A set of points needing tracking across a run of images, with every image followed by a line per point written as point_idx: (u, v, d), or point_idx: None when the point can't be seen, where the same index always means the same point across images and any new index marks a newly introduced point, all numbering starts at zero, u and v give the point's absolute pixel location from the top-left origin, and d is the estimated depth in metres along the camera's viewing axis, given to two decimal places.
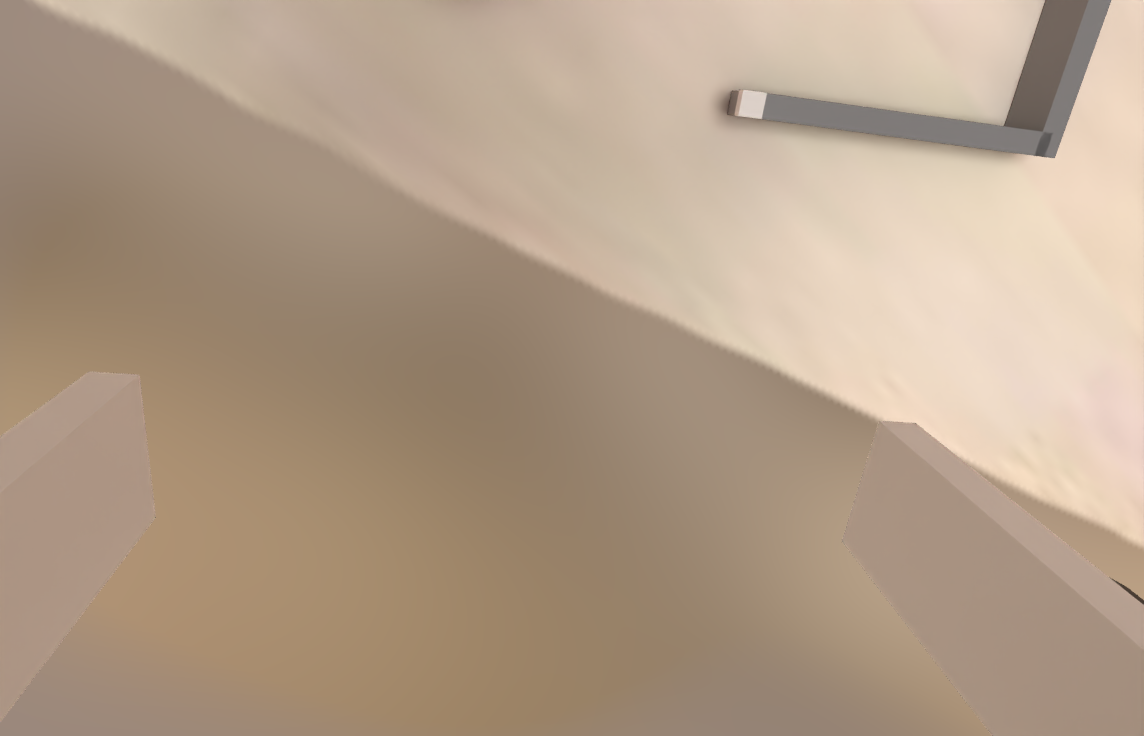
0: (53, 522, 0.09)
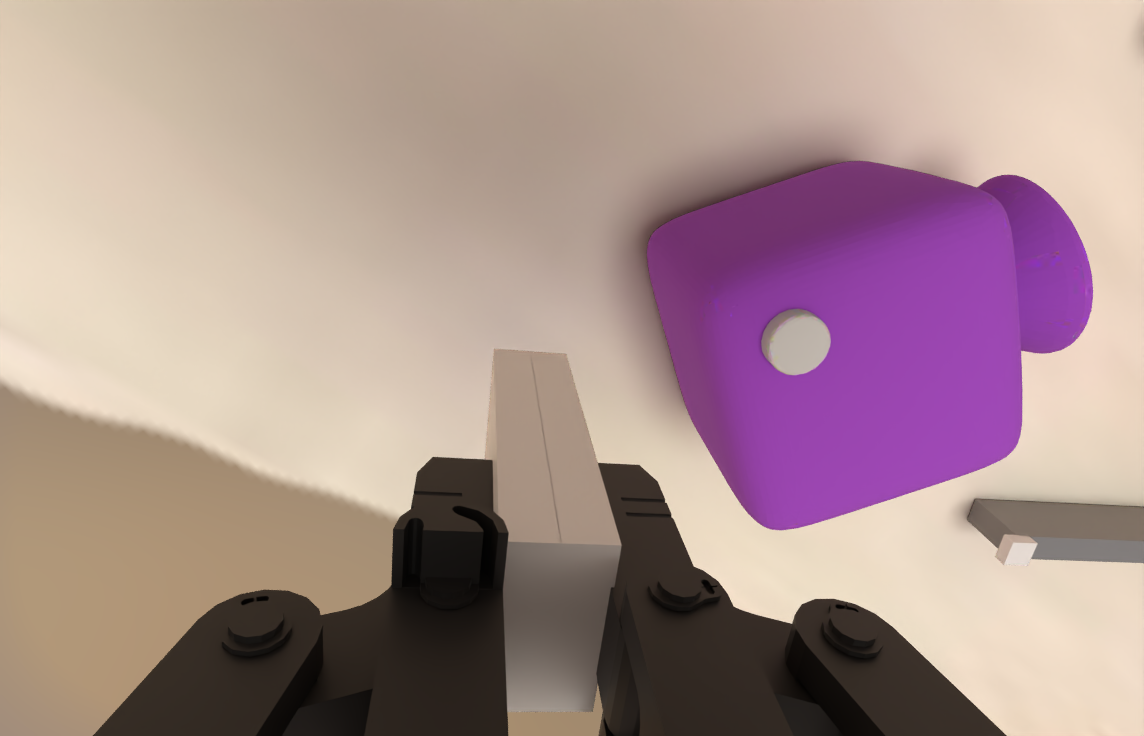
0: None
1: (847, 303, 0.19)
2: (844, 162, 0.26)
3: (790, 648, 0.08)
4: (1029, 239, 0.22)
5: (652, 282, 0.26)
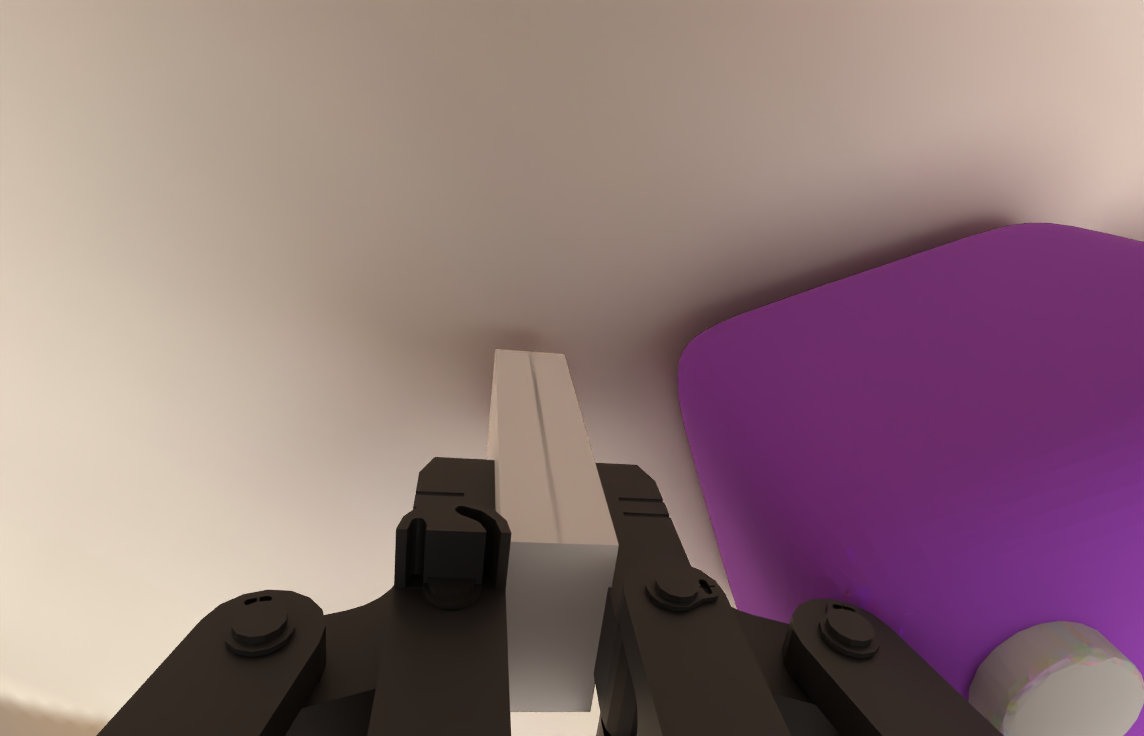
0: None
1: None
2: (1023, 225, 0.15)
3: (786, 649, 0.08)
4: None
5: (688, 433, 0.15)
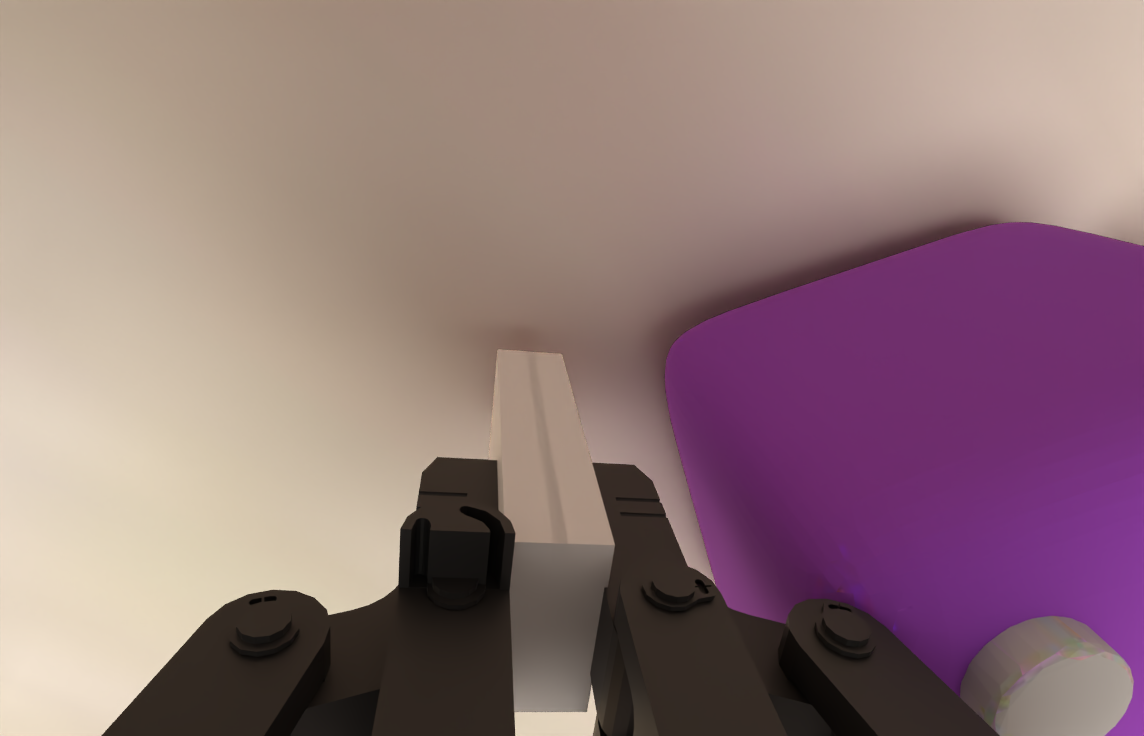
0: None
1: None
2: (1007, 225, 0.15)
3: (783, 648, 0.08)
4: None
5: (675, 430, 0.15)
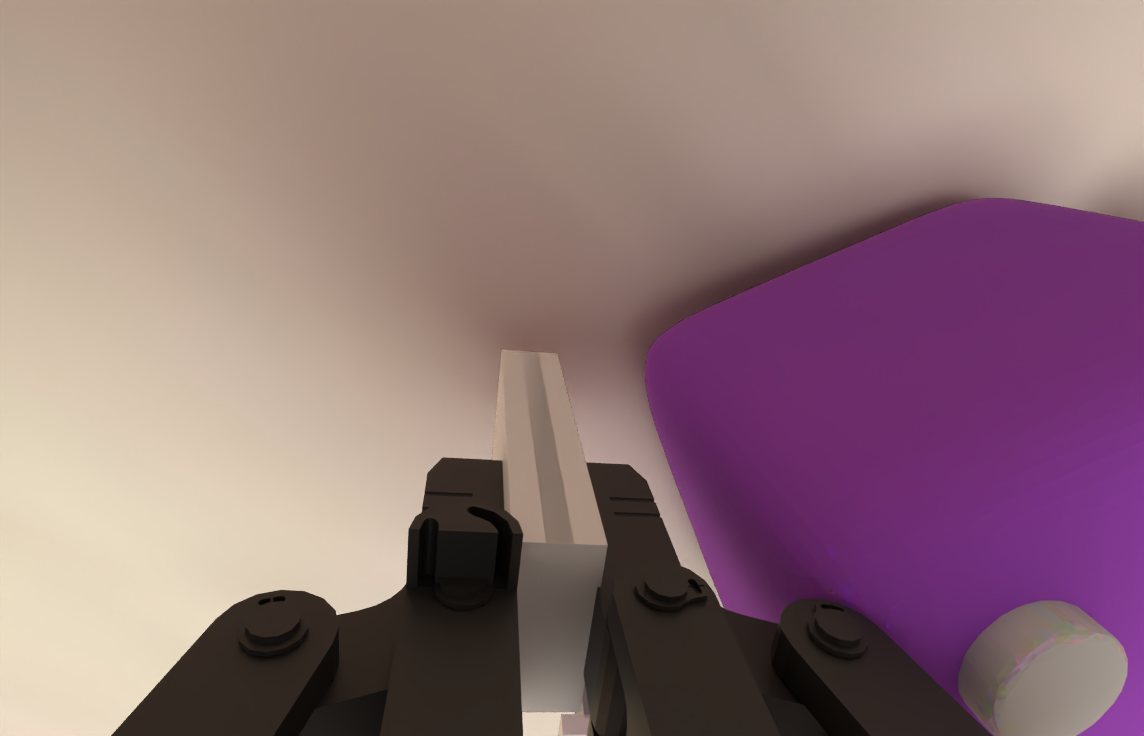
0: None
1: None
2: (972, 202, 0.15)
3: (775, 649, 0.08)
4: None
5: (659, 433, 0.15)
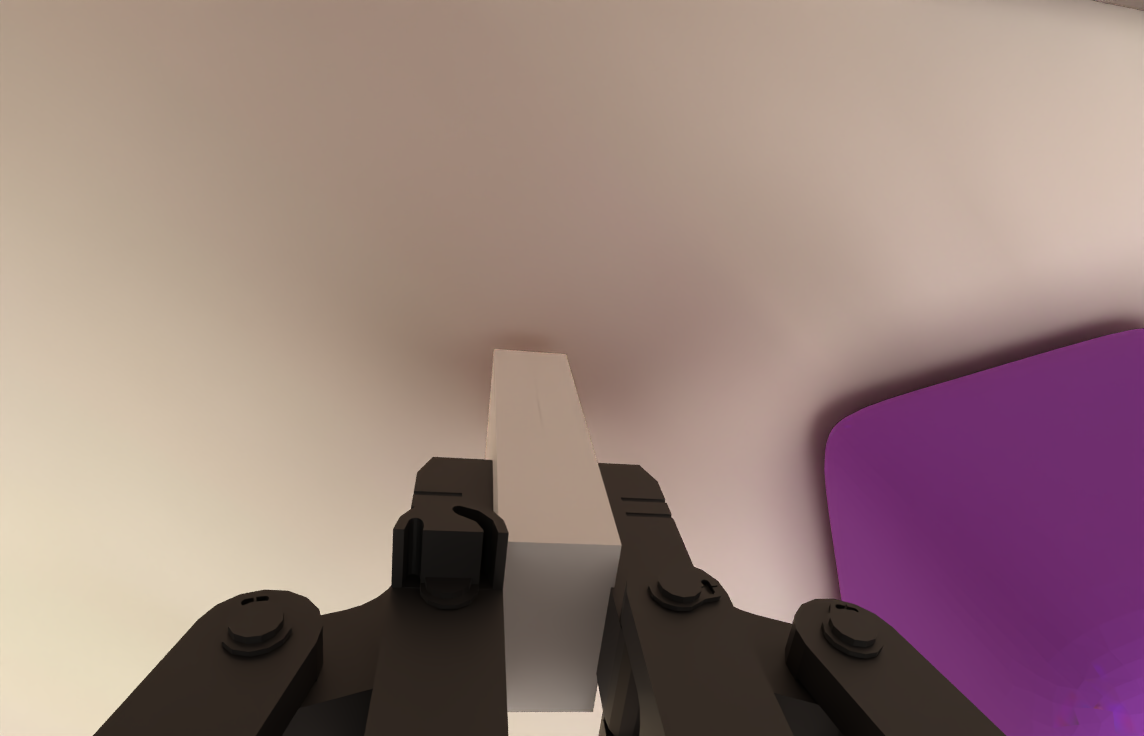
0: None
1: None
2: None
3: (790, 648, 0.08)
4: None
5: (840, 511, 0.16)
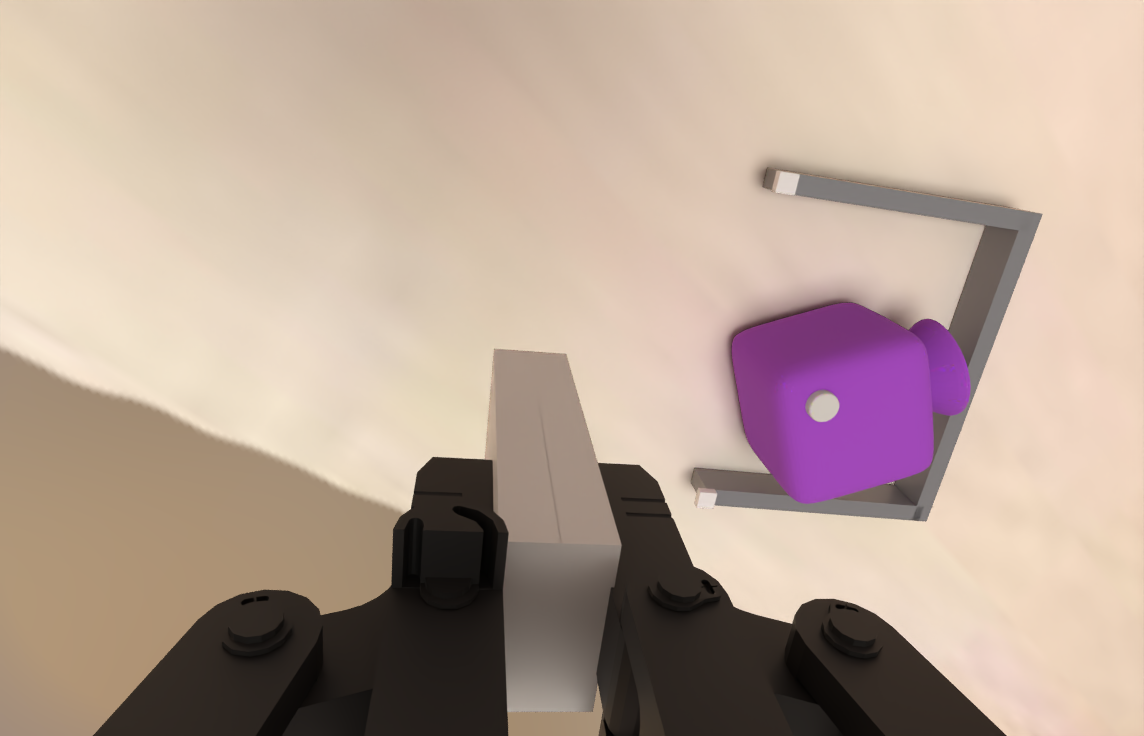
0: None
1: (847, 388, 0.39)
2: (844, 303, 0.46)
3: (791, 649, 0.08)
4: (940, 356, 0.42)
5: (735, 364, 0.46)
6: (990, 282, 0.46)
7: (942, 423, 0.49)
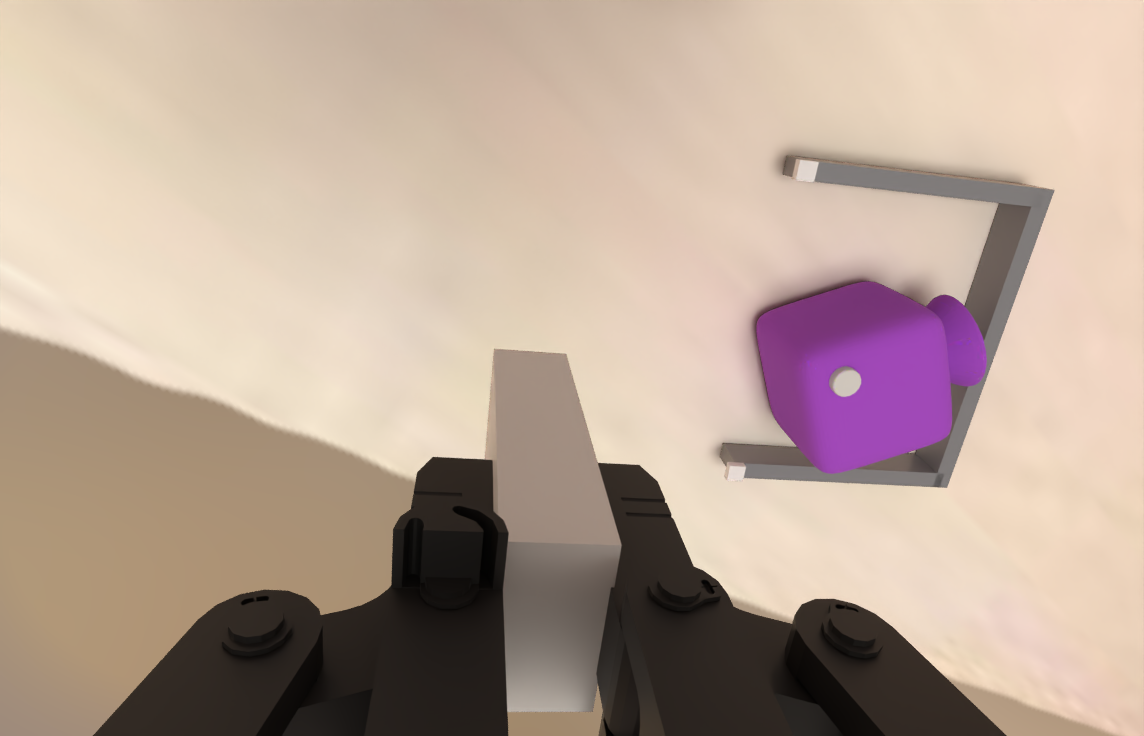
0: None
1: (868, 364, 0.42)
2: (864, 282, 0.48)
3: (789, 648, 0.08)
4: (956, 331, 0.45)
5: (760, 344, 0.49)
6: (1004, 257, 0.48)
7: (960, 394, 0.51)
